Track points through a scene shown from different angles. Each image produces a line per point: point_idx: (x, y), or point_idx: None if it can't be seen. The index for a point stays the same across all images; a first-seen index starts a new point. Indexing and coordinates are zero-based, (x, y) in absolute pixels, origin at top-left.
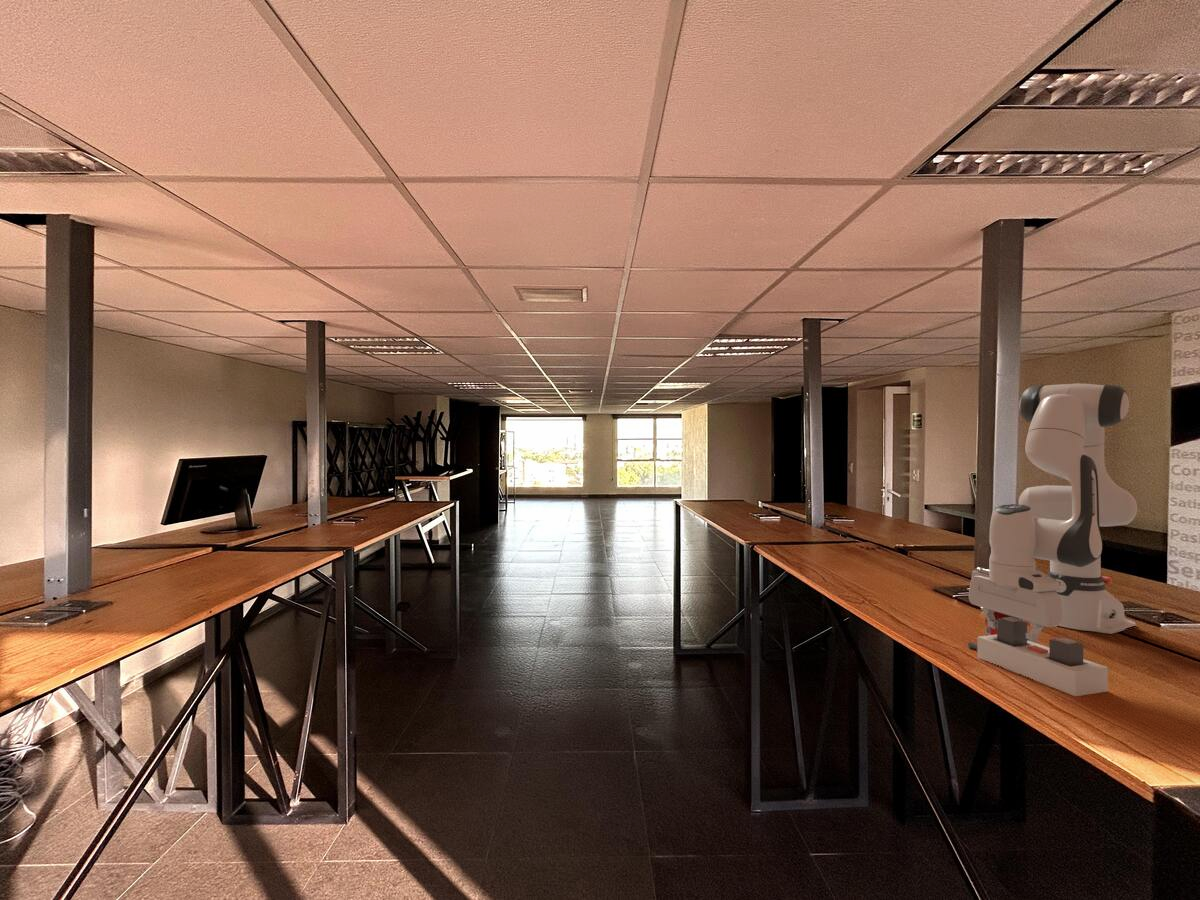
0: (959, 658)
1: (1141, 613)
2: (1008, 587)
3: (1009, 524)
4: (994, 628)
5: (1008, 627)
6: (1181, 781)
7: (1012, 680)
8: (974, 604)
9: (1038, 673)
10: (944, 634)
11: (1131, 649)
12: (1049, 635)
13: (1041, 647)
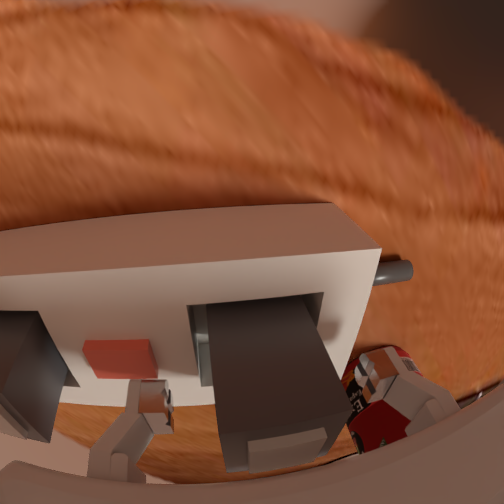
0: (354, 120)
1: None
2: None
3: None
4: (361, 357)
5: (255, 394)
6: None
7: (82, 130)
8: (497, 389)
9: (47, 238)
10: (472, 273)
11: (238, 476)
12: (336, 440)
13: None
